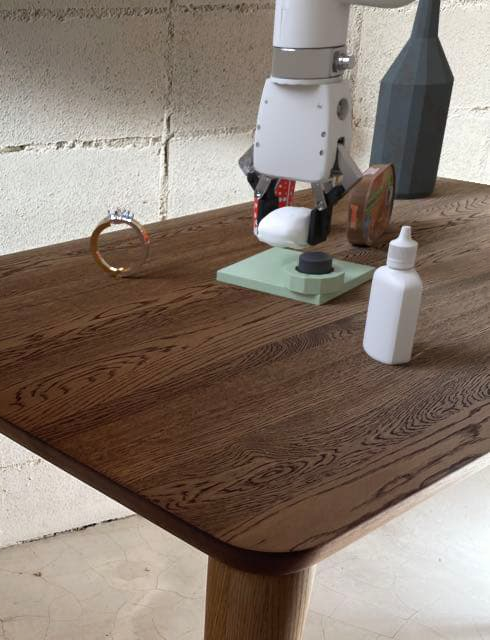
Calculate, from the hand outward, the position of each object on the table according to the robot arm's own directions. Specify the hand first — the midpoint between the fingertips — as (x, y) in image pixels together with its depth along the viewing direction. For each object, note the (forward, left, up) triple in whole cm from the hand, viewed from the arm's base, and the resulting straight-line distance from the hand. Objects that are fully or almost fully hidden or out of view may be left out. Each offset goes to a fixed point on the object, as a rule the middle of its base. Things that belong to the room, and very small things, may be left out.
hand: (291, 236), depth 102 cm
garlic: (0, 0, -1) cm, 1 cm away
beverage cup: (+11, -12, -5) cm, 17 cm away
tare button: (-6, +5, -2) cm, 8 cm away
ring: (+15, +14, -5) cm, 21 cm away
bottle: (+8, -42, -5) cm, 43 cm away
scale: (-2, +2, -4) cm, 5 cm away
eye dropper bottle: (-21, +15, -5) cm, 26 cm away
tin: (0, -18, -5) cm, 19 cm away
